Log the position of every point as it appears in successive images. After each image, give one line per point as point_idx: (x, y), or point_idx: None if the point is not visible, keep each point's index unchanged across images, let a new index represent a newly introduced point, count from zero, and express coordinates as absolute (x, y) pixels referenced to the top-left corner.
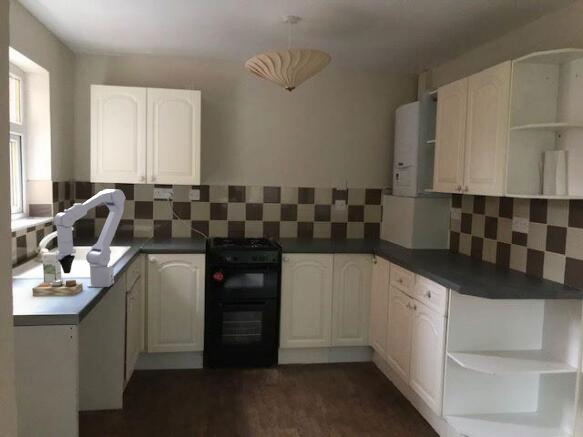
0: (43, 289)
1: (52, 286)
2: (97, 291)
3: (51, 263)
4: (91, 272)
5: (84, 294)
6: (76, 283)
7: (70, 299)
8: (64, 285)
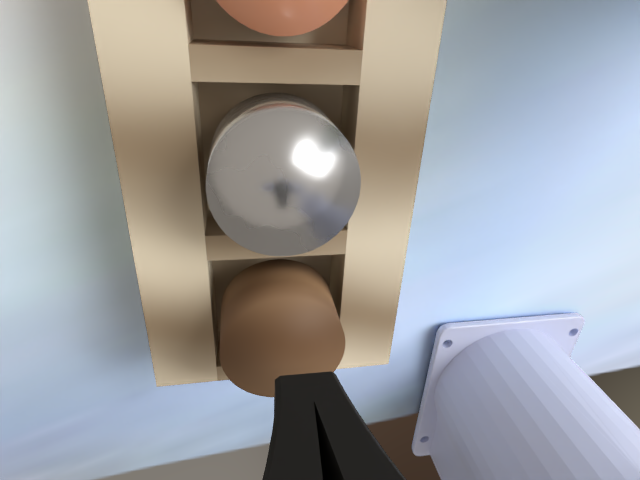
0: (94, 5)
1: (277, 80)
2: None
3: None
4: (525, 462)
5: (197, 395)
6: (363, 327)
7: (8, 368)
8: None
